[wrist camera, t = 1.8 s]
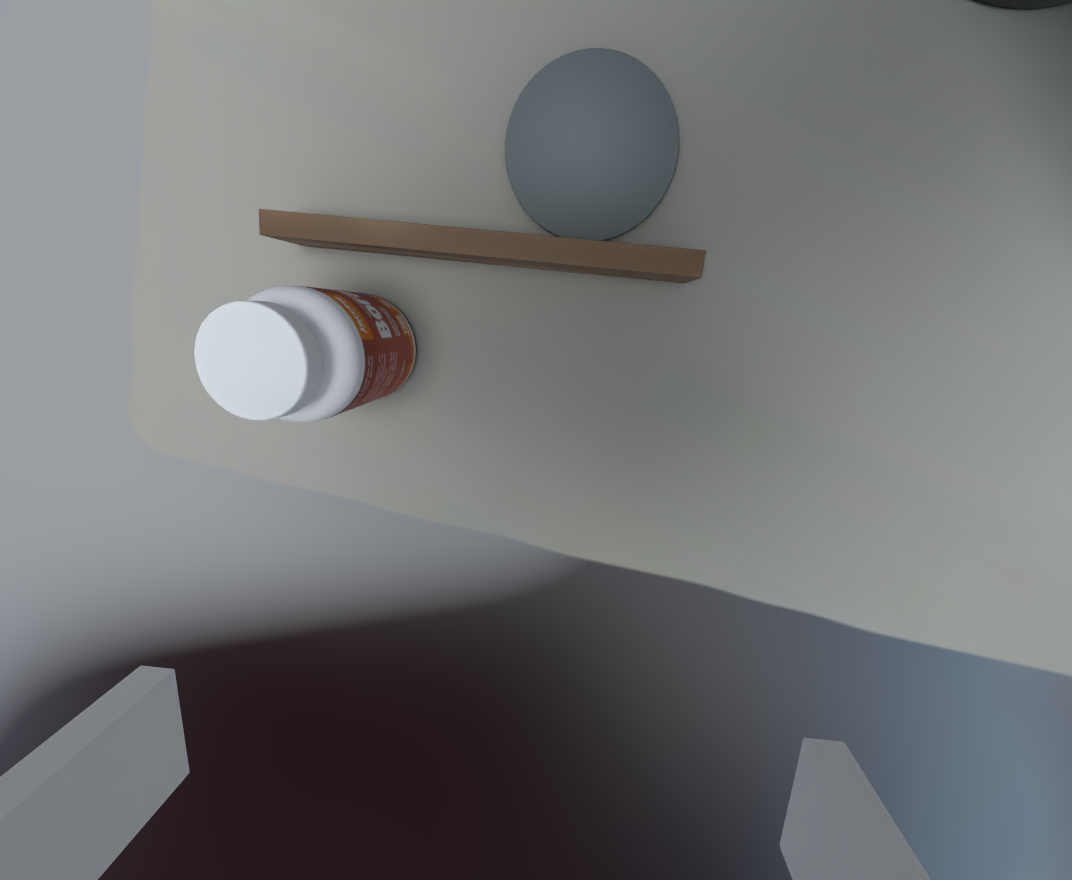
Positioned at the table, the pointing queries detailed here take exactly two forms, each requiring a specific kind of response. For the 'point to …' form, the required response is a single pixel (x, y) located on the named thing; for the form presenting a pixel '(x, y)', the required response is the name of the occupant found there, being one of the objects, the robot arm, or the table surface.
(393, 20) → the table surface
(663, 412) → the table surface
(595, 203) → the slate pad
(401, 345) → the pill bottle
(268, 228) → the divider rail
